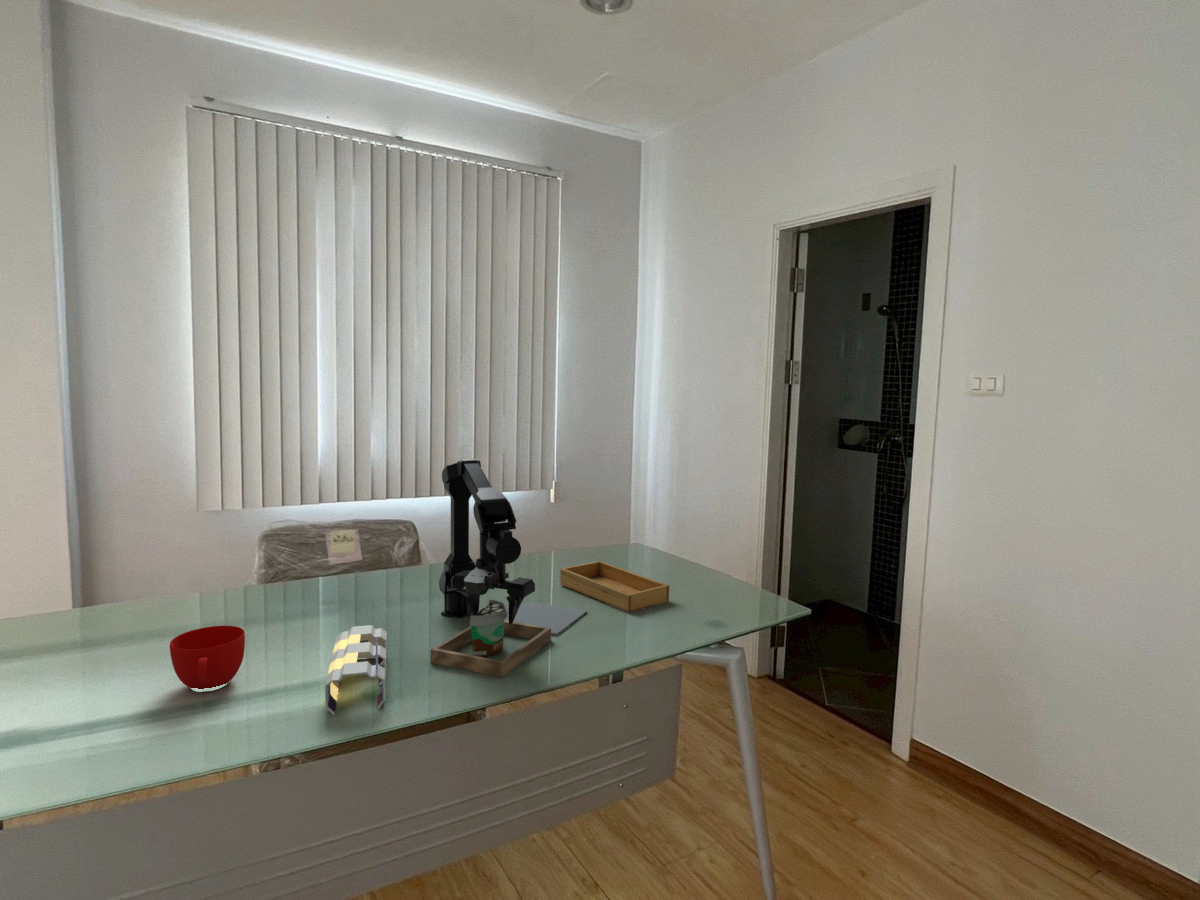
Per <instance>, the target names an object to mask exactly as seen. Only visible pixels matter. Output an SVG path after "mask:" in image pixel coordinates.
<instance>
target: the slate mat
mask: <svg viewBox="0 0 1200 900" xmlns="http://www.w3.org/2000/svg"><path fill="white" fill-rule="evenodd" d="M507 613H508V616H509V612H507ZM585 613H586V614H588V610H586V609H580V608H573V607H566V606H560V605H552V604H546V603H540V602H534V601H533V602H532V601H526V602H524V603H521V605H520V607H519V609H518V612H517V614H516V616H515V619H514V621H513V622H518V623H524V624H530V625H536V626H542V627H548V628H551V634H552V635H551V636H554V635H557V636H559V635H560V634H561V633H563V632H564V631H565V630H567V629H568V628H569V627H570V625H571V624H572V623H573V624H574V623H575V621H576V620H577V621H578V620H580V619H581V618H582V617H584V616H585V615H586V614H585ZM584 614H585V615H584ZM583 615H584V616H583ZM508 616H507V618H506V619H505V620H506V621H509V618H508ZM581 616H582V617H581ZM580 617H581V618H580ZM579 618H580V619H579ZM577 621H576V622H577ZM573 624H572V625H573ZM572 625H571V626H572ZM568 626H569V627H568ZM567 627H568V628H567ZM566 628H567V629H566ZM564 629H565V630H564ZM563 630H564V631H563ZM562 631H563V632H562ZM560 632H561V633H560ZM559 633H560V634H559ZM558 634H559V635H558Z"/></svg>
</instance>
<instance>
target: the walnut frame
mask: <svg viewBox="0 0 1200 900" xmlns="http://www.w3.org/2000/svg"><path fill="white" fill-rule="evenodd" d="M504 635H508V636H514V637H519V638H525V637H527V638H526V639H529V640H528V641H526V642H525V643H524V644H522V645H521V646H519V647H518V648H517V649H515V650H514V651H513V652H511V653H509V654H508V655H507V656H506V657H504V658H503V659H501V660H499V659H493V658H491V657H488V658H484V657H479V656H474V655H473V654H468V653H462V652H457V651H458V650H459V649H460V648H462V647H464V646H465V645H468V644H469V643H470V642H472V632H471V626H470V625H469V626H467V628H465V629H463V630H462V631H460V632H458V633H456V634H455V635H453V636H451V637H449V638H448V639H446V640H444V641H443V642H441V643H439V644H437V645H436V646H434V647H432V648H431V649H430V663H431V664H435V665H440V666H444V667H445V666H446V667H450V668H455V669H460V670H465V671H470V672H475V673H480V674H485V675H490V676H494V677H500V678H504V677H505V676H506V675H508V674H509V673H510V672H512V671H513V670H514V669H516V668H517V667H518V666H520V665H521V664H522V663H524V662H525V661H526V660H528V659H529V658H530V657H531V656H533V655H534V654H535V653H536V651H537V652H538V651H540V649H542V648H543V647H544V646H546V645H547V644H548V643H550V642H551V641H552V635H551V628H548V627H542V626H536V625H530V624H524V623H518V622H513V623H512V624H509V621H506V620H505V623H504ZM530 638H532V639H530ZM550 640H551V641H550ZM549 641H550V642H549ZM546 643H547V644H546ZM545 644H546V645H545ZM541 647H542V648H541ZM532 654H533V655H532ZM529 656H530V657H529ZM528 657H529V658H528ZM524 660H525V661H524Z"/></svg>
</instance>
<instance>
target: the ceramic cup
mask: <svg viewBox="0 0 1200 900" xmlns="http://www.w3.org/2000/svg"><path fill="white" fill-rule="evenodd" d="M245 642H246V633H245V630H244V629H243V628H241V627H239V626H235V625H212V626H205V627H201V628H200V627H199V628H197V629H191V630H189V631H186V632H183V633H180V634H178V635H177V636H175V637H173V638H172V639H171V640H170V642H169V654H170V659H171V664H172V667H173V670H174V673H175V674H176V676H177V678H178V679H179V681H180V682H181V684H183V685H185V686H186V687H187V688H189V687H190V688H198V689H204V688H212V687H216V686H220V685H223V684H226V683H228V682H229V681H230V682H231V681H232V680H233V678H234V677H236V675H237V673H238V672H239V670H240V667H241V665H242V663H243V660H244V655H245V647H246V646H245V644H246V643H245ZM230 682H229V683H230ZM190 688H189V689H190Z"/></svg>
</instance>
